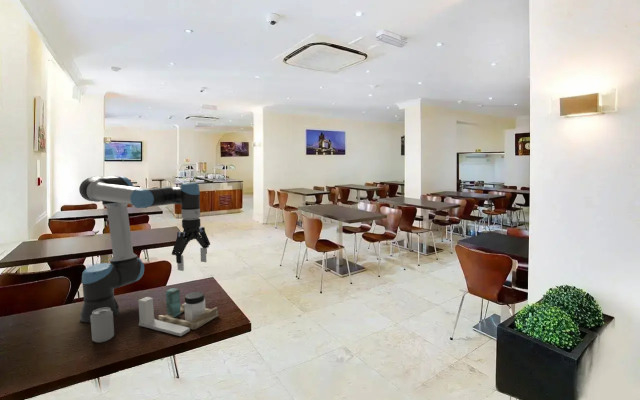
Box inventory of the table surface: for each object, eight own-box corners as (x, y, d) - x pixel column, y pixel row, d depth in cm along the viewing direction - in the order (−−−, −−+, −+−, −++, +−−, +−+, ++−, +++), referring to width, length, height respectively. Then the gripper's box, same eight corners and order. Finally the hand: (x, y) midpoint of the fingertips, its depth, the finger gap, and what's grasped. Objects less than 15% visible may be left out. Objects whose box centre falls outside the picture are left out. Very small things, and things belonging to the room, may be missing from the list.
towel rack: (157, 320, 147) (156, 294, 146) (182, 308, 160) (181, 284, 159) (194, 329, 138) (193, 302, 137) (218, 315, 152) (217, 290, 151)
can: (97, 345, 127) (95, 315, 126) (88, 340, 131) (86, 311, 130) (118, 337, 134) (116, 308, 132) (108, 332, 138) (106, 304, 136)
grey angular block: (138, 325, 143) (137, 300, 142) (148, 320, 147) (147, 296, 146) (180, 336, 133) (179, 309, 132) (189, 330, 138) (188, 304, 137)
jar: (187, 327, 142) (185, 300, 141) (183, 319, 149) (182, 294, 147) (208, 321, 147) (207, 295, 146) (203, 314, 153) (202, 290, 152)
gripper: (174, 223, 131) (176, 275, 133) (217, 215, 153) (218, 259, 156) (161, 222, 133) (163, 273, 136) (204, 214, 156) (205, 257, 159)
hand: (192, 265), depth 146 cm, fingers open, 13 cm apart
